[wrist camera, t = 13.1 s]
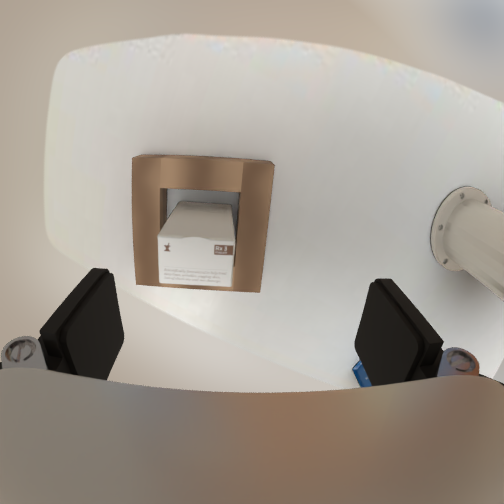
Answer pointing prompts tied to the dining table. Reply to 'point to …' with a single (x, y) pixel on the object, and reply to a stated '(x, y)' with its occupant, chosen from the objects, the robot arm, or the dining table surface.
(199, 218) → the skincare box
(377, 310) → the robot arm
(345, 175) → the dining table surface
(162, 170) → the wooden square frame
